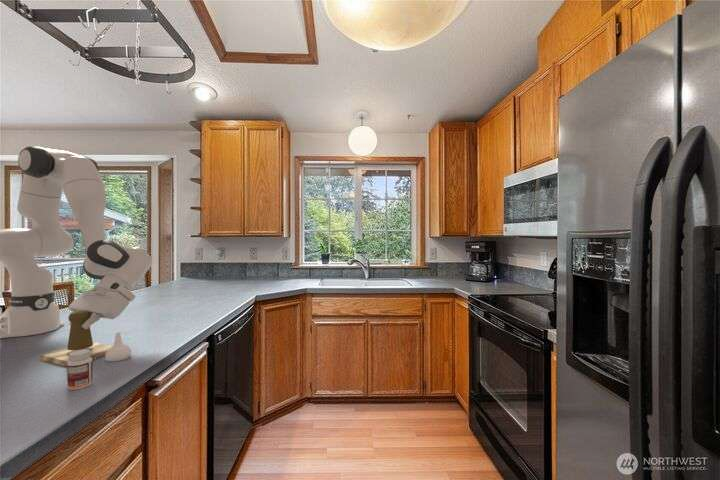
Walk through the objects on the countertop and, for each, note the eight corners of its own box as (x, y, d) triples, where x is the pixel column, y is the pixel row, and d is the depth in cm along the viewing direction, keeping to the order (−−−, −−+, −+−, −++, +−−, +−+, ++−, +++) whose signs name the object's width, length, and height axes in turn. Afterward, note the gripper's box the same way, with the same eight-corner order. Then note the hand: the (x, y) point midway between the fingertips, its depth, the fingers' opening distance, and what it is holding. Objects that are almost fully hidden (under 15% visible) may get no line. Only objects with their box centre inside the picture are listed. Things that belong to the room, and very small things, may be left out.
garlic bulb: (109, 357, 100) (106, 332, 99) (134, 353, 102) (131, 328, 102) (103, 365, 94) (99, 338, 94) (129, 360, 97) (125, 333, 96)
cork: (77, 351, 96) (77, 313, 96) (61, 349, 98) (61, 312, 98) (98, 344, 102) (97, 309, 102) (82, 342, 104) (82, 308, 103)
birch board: (40, 359, 97) (40, 354, 97) (90, 345, 109) (90, 341, 109) (68, 367, 91) (68, 361, 91) (118, 351, 103) (117, 346, 103)
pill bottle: (77, 381, 82) (76, 348, 82) (97, 381, 83) (97, 348, 83) (61, 390, 78) (61, 355, 78) (83, 390, 78) (82, 355, 78)
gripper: (85, 282, 110) (48, 317, 101) (124, 286, 102) (89, 325, 93) (99, 293, 114) (66, 328, 105) (139, 297, 107) (106, 336, 98)
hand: (77, 327), depth 99 cm, fingers closed on cork, 4 cm apart
